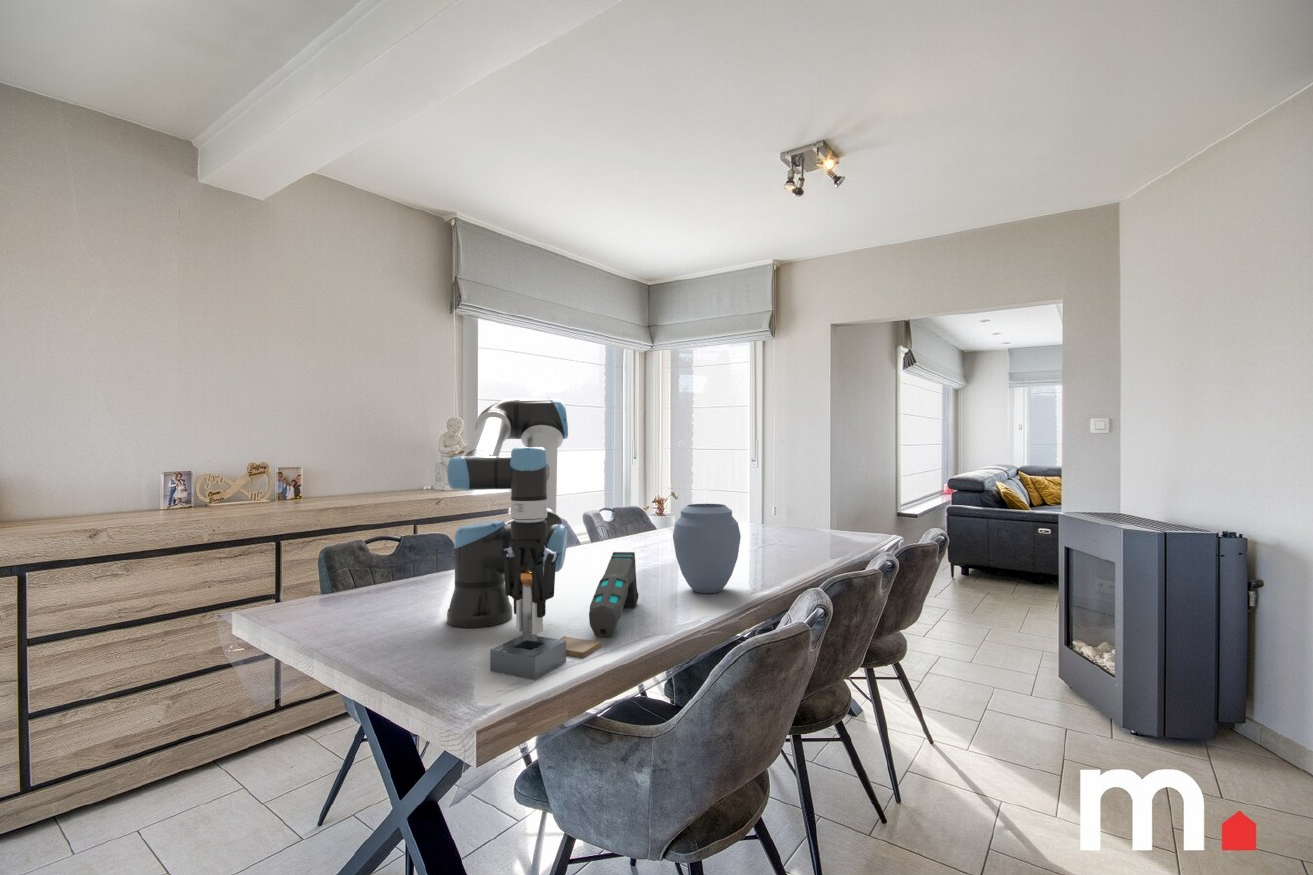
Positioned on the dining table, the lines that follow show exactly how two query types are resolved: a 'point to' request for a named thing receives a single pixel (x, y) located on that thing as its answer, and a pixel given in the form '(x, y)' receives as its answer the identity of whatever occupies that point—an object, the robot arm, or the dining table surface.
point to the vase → (706, 546)
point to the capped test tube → (527, 601)
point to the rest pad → (580, 646)
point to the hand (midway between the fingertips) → (529, 630)
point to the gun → (614, 594)
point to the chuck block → (528, 656)
